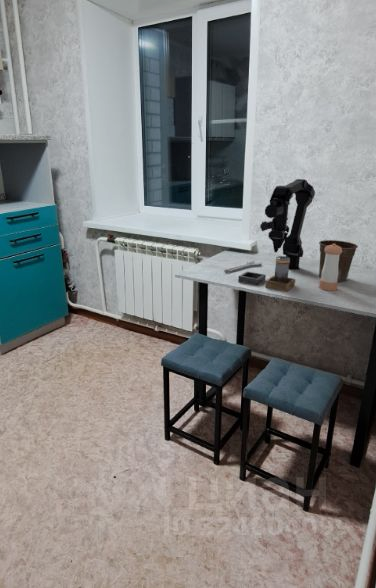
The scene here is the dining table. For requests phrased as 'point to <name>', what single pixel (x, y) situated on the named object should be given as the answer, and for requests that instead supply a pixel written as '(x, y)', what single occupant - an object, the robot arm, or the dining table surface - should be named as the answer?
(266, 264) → the dining table surface
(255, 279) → the socket block
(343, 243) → the plant pot
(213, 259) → the dining table surface
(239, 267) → the adjustable wrench
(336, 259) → the pepper shaker
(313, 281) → the dining table surface
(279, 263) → the brass-banded metal cylinder
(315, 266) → the dining table surface
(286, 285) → the wooden square frame
